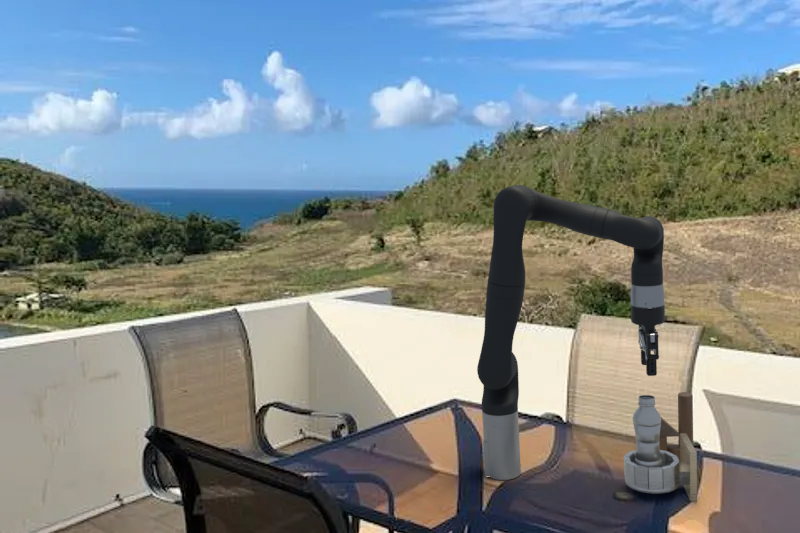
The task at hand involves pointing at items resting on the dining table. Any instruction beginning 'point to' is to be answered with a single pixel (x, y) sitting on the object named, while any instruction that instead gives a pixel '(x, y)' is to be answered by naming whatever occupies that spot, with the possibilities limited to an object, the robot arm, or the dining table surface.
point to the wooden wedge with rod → (683, 424)
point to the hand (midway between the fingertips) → (648, 369)
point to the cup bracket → (665, 471)
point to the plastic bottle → (647, 433)
